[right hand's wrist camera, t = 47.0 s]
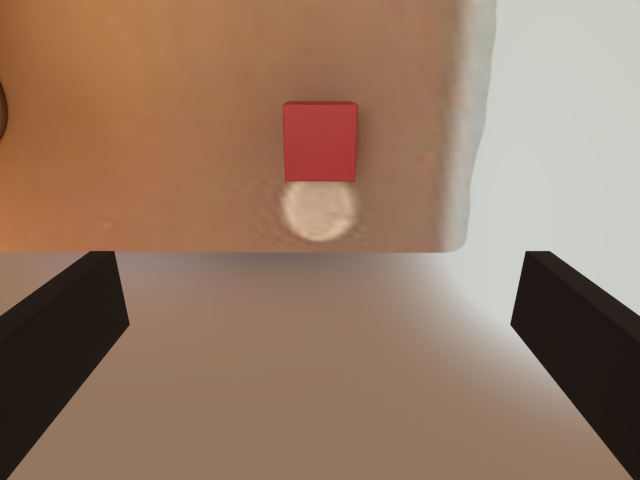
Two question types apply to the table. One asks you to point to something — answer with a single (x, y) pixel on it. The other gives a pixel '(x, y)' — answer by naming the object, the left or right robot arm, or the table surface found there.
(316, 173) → the block
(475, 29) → the table surface
